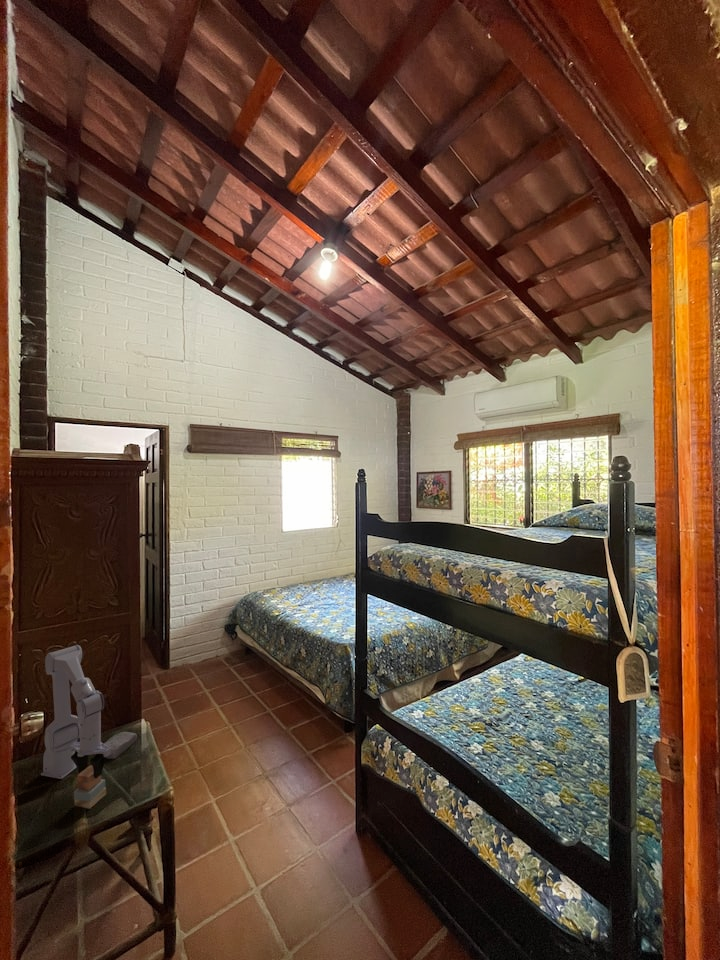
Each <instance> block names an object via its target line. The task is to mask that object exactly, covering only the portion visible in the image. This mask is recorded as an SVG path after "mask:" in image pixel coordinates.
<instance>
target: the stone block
mask: <svg viewBox="0 0 720 960" xmlns="http://www.w3.org/2000/svg"><path fill="white" fill-rule="evenodd" d="M137 738H138V735H137V733H135V732H130V731H121V732H117V733H116V734H113V735H112V736H111V737H110V738H109V739H108V740H106V741H105V742H104V743H103V744H105V745H106V746H108V747H111V754H110V755H108V756H107V758H106V759H110V760H115V759H117V758H118V757H119V756H121V755H122V754H123V753H124V752H125V751H126V750H127V749H129V748H130V747H132V745H134V744H135V743H136V741H137Z"/></svg>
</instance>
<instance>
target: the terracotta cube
mask: <svg viewBox="0 0 720 960" xmlns="http://www.w3.org/2000/svg"><path fill="white" fill-rule="evenodd" d="M76 777H77V788H78V789H79V790H85V791H90V790H91V789H92V788H93V787H94V786H96V785H97V784H98V783H99V782H100V781H101V779H102V774H101V775H100V776H99V777H97V778H94V771H93V766H92V765H88V766H87V768H86V769H85V770H83V771H82V772H81V773H80V774H79V773H78V774H77V776H76Z"/></svg>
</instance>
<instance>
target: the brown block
mask: <svg viewBox="0 0 720 960" xmlns="http://www.w3.org/2000/svg"><path fill="white" fill-rule="evenodd" d="M106 795H107V787H106V786H105V788H104V789H103V790H102V791H101V792H100V793H99V794H98V795H97V796H96V797H94V798H93V799H92V800H91V801H83V800H75V799H74V806H75V807H79V808H84V809H89V810H90V809H92V807H93V806H95V805H97V803H98V802H99V801H100V800H102V799H103V798H104V797H105V796H106Z"/></svg>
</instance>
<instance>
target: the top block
mask: <svg viewBox="0 0 720 960" xmlns="http://www.w3.org/2000/svg"><path fill="white" fill-rule="evenodd" d="M105 787H106V779H102V778H101V781H100V782H99V783H98V784H97V785H96V786H94V787H93V788H92V789H91V790H90V791H85V790H79V789H78V787H77V788H76V789H75V790H74V791H73V800H74V801H75V800H83V801H91V800H92V799H93V798H94V797H96V796H97V795H98V794H99V793H100V792H101V791H102V790H103V789H104V788H105Z"/></svg>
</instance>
